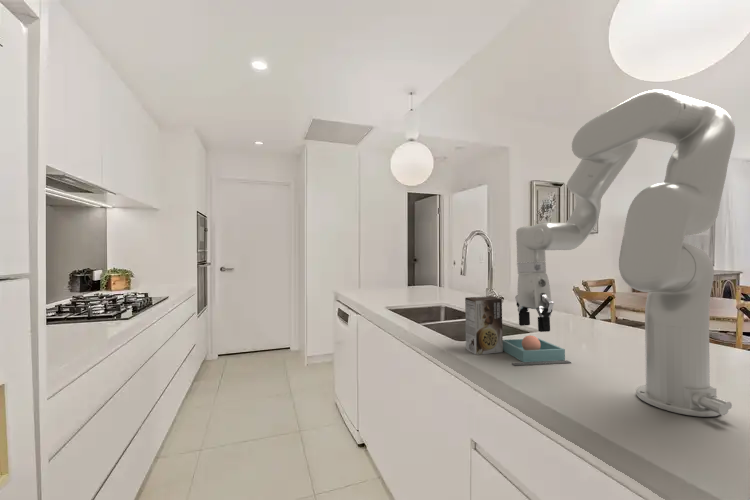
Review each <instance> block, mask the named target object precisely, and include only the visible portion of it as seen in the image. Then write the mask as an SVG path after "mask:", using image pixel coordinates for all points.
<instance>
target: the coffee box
mask: <svg viewBox="0 0 750 500" xmlns="http://www.w3.org/2000/svg"><path fill="white" fill-rule="evenodd" d="M464 299H465V307H464V308H465V350H467V351H468V352H470V353H471V354H473V355H475V356H479V355H489V354H498V353H504V352H503V340H504V339H503V299H502V298H500V297H499V298H498V297H496V296H492V295H487V296H486V295H485V296H484V295H483V296H472V297H471V296H470V297H468V296H467V297H465V298H464Z"/></svg>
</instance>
